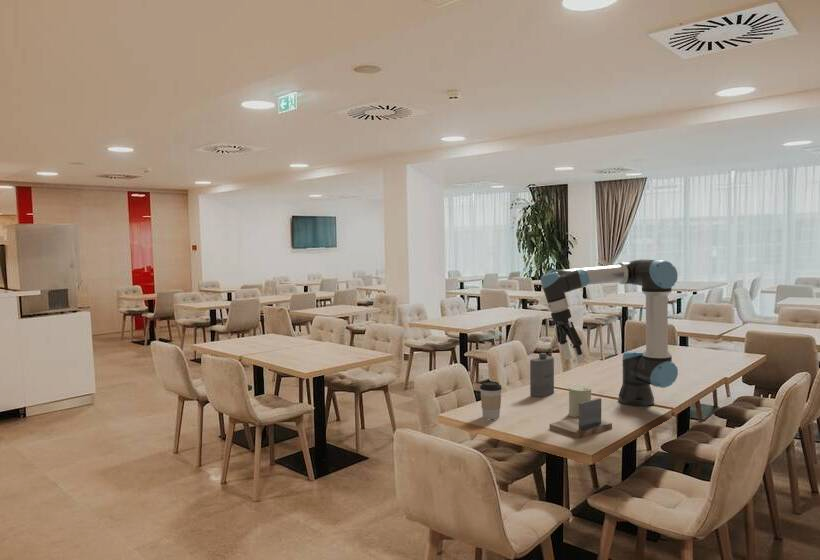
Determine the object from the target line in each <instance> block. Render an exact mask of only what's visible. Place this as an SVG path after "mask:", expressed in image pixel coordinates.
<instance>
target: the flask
mask: <svg viewBox="0 0 820 560" xmlns="http://www.w3.org/2000/svg"><path fill="white" fill-rule="evenodd" d="M538 355H539V357H537V358H533V359H530V360H529V372H530V373H529V374H530V375H529V377H530V378H529V379H530V381H529V383H530V384H529V385H530V386H529V387H530V389H529V390H530V392H529V393H530V397H531V398H534V397H535V398H537V399H539V398H544V396H545V397H548V396H551V395H553V394H554V393H555V357H553V356H552V355H551V356H549V355H548V354H547V353H546V352H541V353H539V354H538ZM538 397H539V398H538Z"/></svg>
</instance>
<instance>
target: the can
mask: <svg viewBox="0 0 820 560" xmlns="http://www.w3.org/2000/svg"><path fill="white" fill-rule="evenodd" d="M590 400H592V388H591V387H590V386H586V385H570V386H569V387H568V407H569V408H568V416H570V417H571V418H573V417H577V416H579V403H582V402H586V401H590Z"/></svg>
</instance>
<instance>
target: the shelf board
mask: <svg viewBox="0 0 820 560" xmlns="http://www.w3.org/2000/svg"><path fill="white" fill-rule="evenodd" d="M601 423H604V424H606V425H604V426H601V427H598V428H594V429H591V430H588V431H583V430H580V429H579V416H577V417H570V418H566V419H563V420H559V421H556V422H552V423H549V430H552V431H554V432H557V433H560V434H562V435H567V436H569V437H572V438H575V439H581V438H585V437H588V436H591V435H594V433H595V434H598V433H600V432H605V431H609V430H611V429H613V422H611V421H606V420H603V419H601ZM610 428H611V429H610ZM604 430H605V431H604ZM597 432H598V433H597Z"/></svg>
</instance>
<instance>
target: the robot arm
mask: <svg viewBox="0 0 820 560" xmlns="http://www.w3.org/2000/svg"><path fill="white" fill-rule="evenodd" d="M678 276H679V275H678V270H677V268H676V267H675V265H674V264H673V263H671V262H670V261H668V260H662V259H642V258H641V259H636V260H630V261H624V262H619V263H617V264H616V265H615V264H614V265H602V266H601V265H600V266H591V267H590V266H589V267H577V268H568V269H567V268H565V269H557V268H556V269H550V270H548V271H547V272H546V273H545V274H543V275H541V276H540V282H541V283H540V284H541V286H542V287H541V288H542V289H543V292H544V297H545V300H546V303H547V308H548V309H549V312H551V313H550V316H551V319H552V321H553V323H554V325H555V331H556V339H557V342H558V343H559V344H560V347H561V350H562V353H563V357H564V359H565V361H567V360H570V359H572V358H573V356H572V353H571V349H570V346H569V344H568V340H569V341H570V342H571V344H572V349H573V351H574V354H575V358H576V361H577V364H582V363H584V362H586V359H585V357H584V352H583V349H582V345H583V341H582V340H581V339H580V336H579V334H578V332H577V330H576V328H575V326H574V323H573V321H569V319H571V318H572V313H571V311H570V308H569V303H568V300H567V296H566V294H565V293H568V292H569V293H570V292H571V291H574V290H575V291H576V290H578V289H583V288H584V287H586V286H589V285H599V284H600V285H602V284H612V283H618V284H620V285H635V286H641V292H642V293H643V294H644V295H645V350H631V351H630V350H629V351H625V352H623V354H622V384H621V387H620V390H619V392H618V393H619V394H618V402H620V404H621V403H622V404H625V405H629V406H635V407H637V406H638V407H643V406H651V405H654V404H655V397H654V394H653V391H652V387H651V386H653V387H656V388H660V389H661V388H663V389H664V388H668V387H670V386H672V385H673V384H674V383H675V382H676V380H677V378H678V375H679V369H678V367H677V365H676V364H675V363H674V362H673V361H672V360H673V355H672V354H671V353H670V352H669V335H668V334H669V333H668V331H669V330H668V323H669V321H668V317H669V316H668V313H669V312H668V310H669V309H668V304H669V303H668V301H669V299H668V296H669V294H671V293H672V287H674V286H675V284H676V283H677V282H678ZM567 337H568V340H567ZM653 403H654V404H653Z"/></svg>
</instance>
